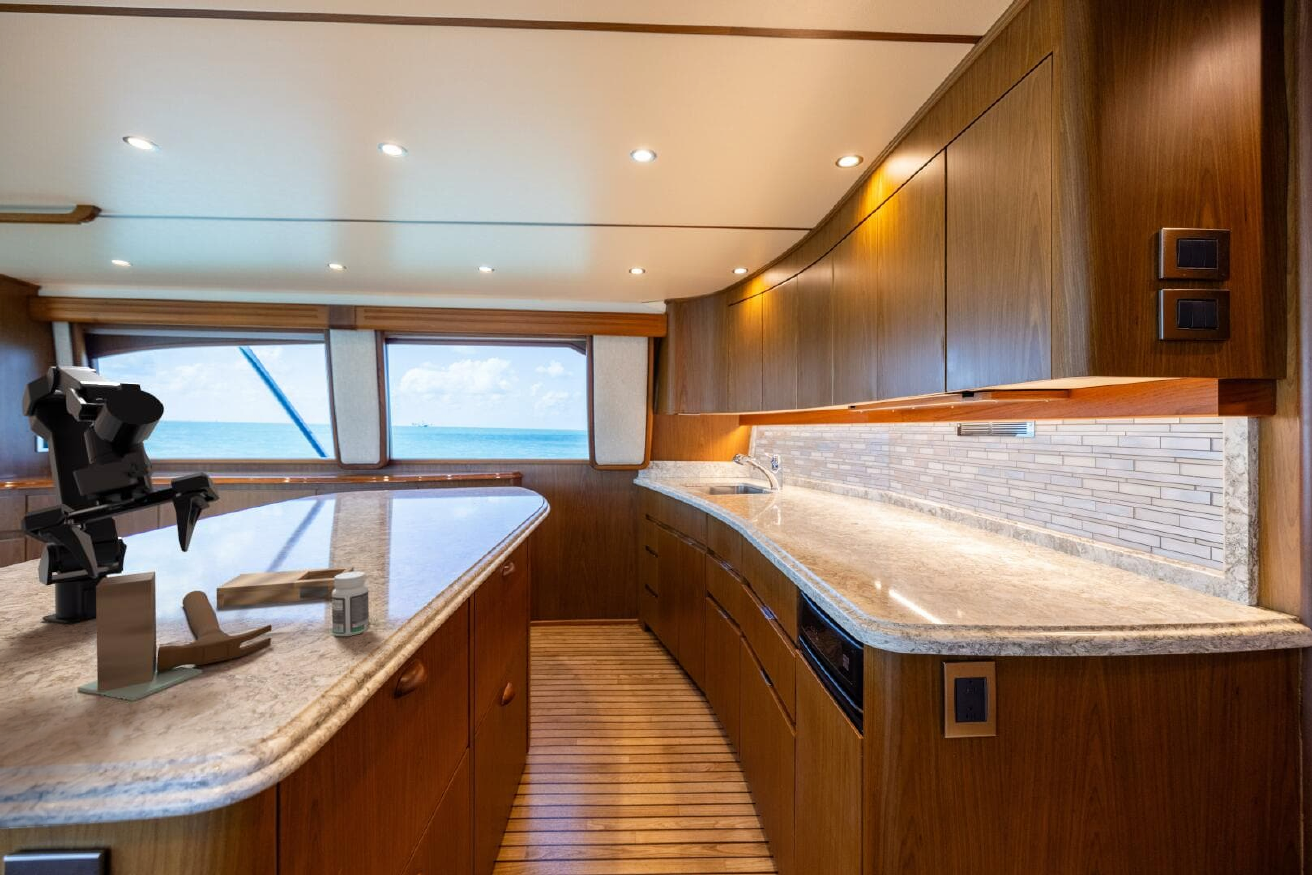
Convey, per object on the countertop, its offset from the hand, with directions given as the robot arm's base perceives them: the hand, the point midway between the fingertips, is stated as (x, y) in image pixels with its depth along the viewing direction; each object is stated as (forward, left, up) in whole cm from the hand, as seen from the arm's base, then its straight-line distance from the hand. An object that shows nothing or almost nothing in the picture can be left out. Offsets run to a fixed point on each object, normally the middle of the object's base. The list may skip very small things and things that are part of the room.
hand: (140, 563), depth 72 cm
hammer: (+1, +8, -12) cm, 14 cm away
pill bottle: (+21, +14, -12) cm, 28 cm away
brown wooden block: (+9, -7, -12) cm, 16 cm away
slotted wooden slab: (-2, +23, -12) cm, 26 cm away
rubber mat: (+10, -6, -12) cm, 17 cm away
